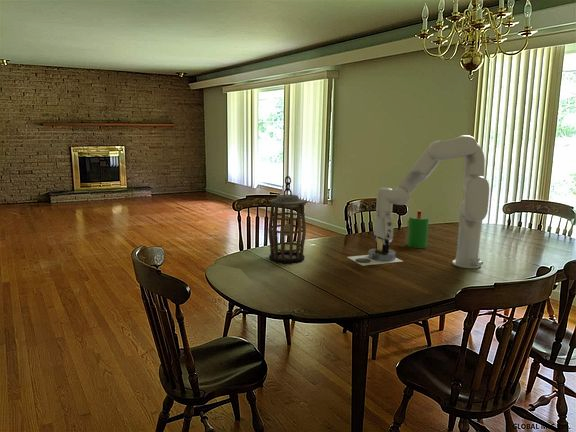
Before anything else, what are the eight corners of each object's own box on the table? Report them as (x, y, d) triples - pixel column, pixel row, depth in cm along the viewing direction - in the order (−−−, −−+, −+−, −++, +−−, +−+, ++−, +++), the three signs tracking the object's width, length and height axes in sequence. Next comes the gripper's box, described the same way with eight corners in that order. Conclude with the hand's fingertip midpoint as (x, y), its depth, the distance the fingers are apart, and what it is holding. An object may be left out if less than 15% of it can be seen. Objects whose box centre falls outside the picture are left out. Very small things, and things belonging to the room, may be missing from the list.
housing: (400, 259, 216) (400, 253, 215) (377, 262, 211) (377, 256, 211) (385, 253, 227) (385, 247, 227) (363, 255, 223) (363, 249, 222)
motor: (425, 244, 250) (427, 208, 247) (428, 248, 242) (431, 211, 238) (406, 243, 251) (408, 208, 248) (409, 247, 243) (411, 211, 239)
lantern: (314, 257, 222) (316, 175, 214) (294, 267, 205) (295, 178, 198) (280, 251, 231) (281, 173, 224) (258, 260, 215) (259, 176, 208)
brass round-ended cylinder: (389, 258, 218) (390, 239, 216) (380, 259, 216) (381, 240, 214) (383, 255, 223) (384, 236, 221) (374, 256, 221) (375, 237, 219)
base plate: (403, 263, 214) (403, 260, 214) (362, 267, 206) (362, 264, 206) (385, 255, 228) (385, 252, 228) (346, 258, 220) (346, 256, 220)
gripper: (401, 216, 209) (399, 255, 212) (380, 210, 225) (379, 246, 228) (387, 217, 206) (385, 256, 210) (367, 211, 222) (366, 247, 225)
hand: (382, 250), depth 219 cm, fingers closed on brass round-ended cylinder, 5 cm apart
